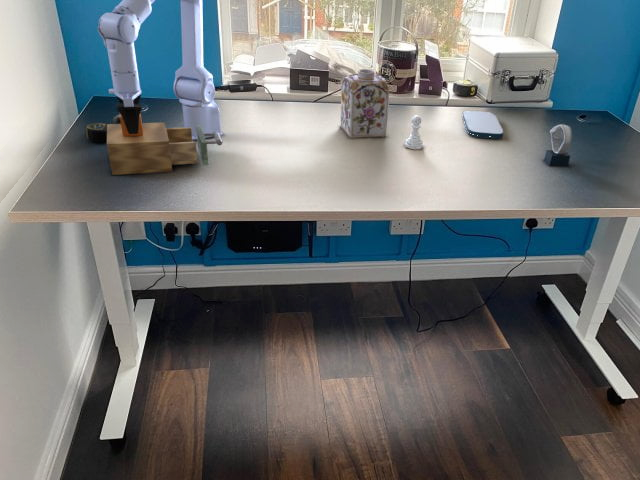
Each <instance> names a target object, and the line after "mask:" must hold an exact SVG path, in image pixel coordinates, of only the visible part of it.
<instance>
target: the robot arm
mask: <svg viewBox="0 0 640 480" xmlns="http://www.w3.org/2000/svg"><path fill="white" fill-rule="evenodd" d="M155 1H156V0H121V1H120V2H119V4H118V5H116V6H115V7H114V9H113V10H112V11H111V12H105V13H104V14H102V15H101V16H100V18H99V19H98V26H97V29H96V30H97V32H98V34H99V36H100V37H101V39H102V41H103V45H104V47H105V48H106V50H107V55H108V61H109V68H110V73H111V80H112V86H113V88H109V89H108V94H109V95H115V97H116V98H117V100H118V101H119V102H118V103H115V108H116V110H117V111H118V112H119V115H120V114H121V116H122V118H123V120H124V123H125V126H126V128H127V131H128V133H129V134H138V131H139V116H140V114H141V112H142V110H143V104H142V103H140V99H141V97H142V89H141V84H140V79H139V78H140V77H139V71H138V63H137V57H136V56H137V55H136V49H135V41H136V40H137V39H138V36H139V30H140V29H141V25H142V24H143V22H145V20H146V19H147V18H148V17H149V16H150V14H152V12H153V11H152V8H153V7H152V4H153V3H155ZM179 1H180V25H181V26H180V27H181V28H180V29H181V55H182V56H181V57H182V59H181V62H182V64H181V66H180V67H179V68H178V69H176V70H175V71H174V74H175V75H174V81H173V85H172V86H173V87H172V88H173V93H174V96H175V97H176V98H177V99H178V101H179V102H178V103H180V104H181V107H182V117H183V126H184V127H183V128H186V127H191V132H192V141H197V134H196V125H200V126H201V128H202V131H203V134H204V133H213V132H215V131H217V132H218V133H219V136H222V135H223V132H222V129H221V114H220V113H221V112H220V109H219V106H218V104H217V103H216V101H214V99H215V97H216V88H215V85H214V79H213V78H214V77H213V74H212V73H211V72H210V71H209V70H207V69H206V67H204V31H203V29H204V27H203V26H204V25H203V24H204V22H203V0H179ZM204 137H205V139H208V138H214V135H213V136H204Z"/></svg>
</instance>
